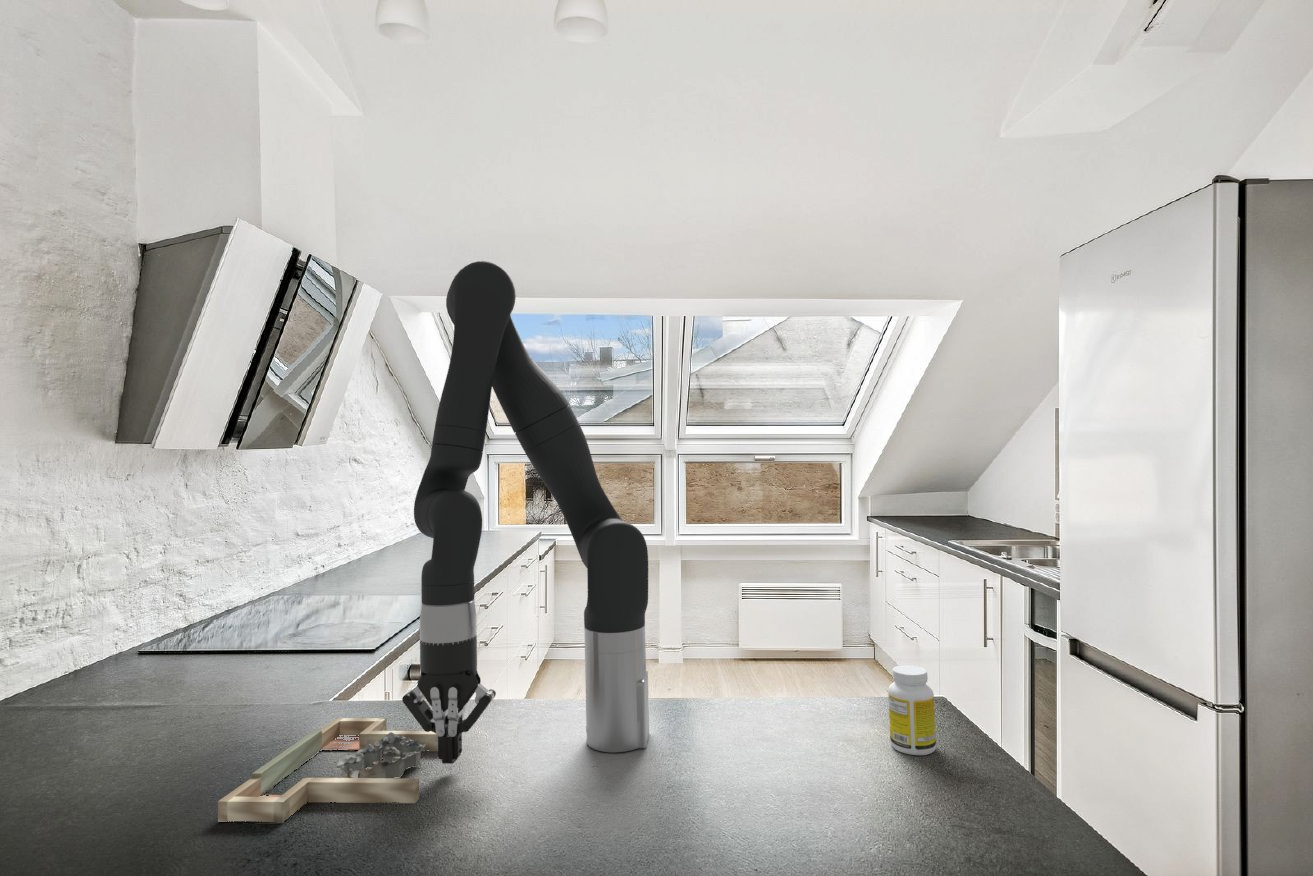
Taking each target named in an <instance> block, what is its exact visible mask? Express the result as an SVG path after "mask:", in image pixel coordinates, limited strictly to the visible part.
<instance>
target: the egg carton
mask: <svg viewBox="0 0 1313 876" xmlns="http://www.w3.org/2000/svg"><path fill="white" fill-rule="evenodd" d="M425 745H426V746H427V744H426V743H423V745H421V744H419V743H418V741H417V740H416V739H415V740H411V739H410V738H406V737H404V736H402V737H398V736H397V735H396V734H394V733H392V732H390V733H389V734H388V735H387V736H385V737H384V738H382V739H381V740H380V741H378V742H375V743H374V744H373V745H370V744H368V745H367V746H366V747H365V748H363V749H361V750H359V751H355V752H354V753H353V754H349V755H348V754H347V755H343V756H342V757H340V758H339V759H338V762H337V764H336V765H335V770H336V771H337V770H340V769H341V778H394V777H400V776H401V775H403V774H405V770H404V769H406V768H408V767H412V766H414V767H415V766H416V767H417V766H418V765H420V766H422V763H421V755H422V752H425V751H424V747H425ZM382 758H383V760H382ZM367 767H371V768H367ZM366 768H367V769H366ZM417 768H418V767H417ZM403 776H404V775H403Z"/></svg>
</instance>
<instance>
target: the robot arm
mask: <svg viewBox="0 0 1313 876" xmlns="http://www.w3.org/2000/svg"><path fill="white" fill-rule="evenodd" d="M448 288H449V289H448V291H447V294H446V298H445V299H446V300H445V306H446V310H447V314H448V317H449V318H450V321H451V322H452V325H453V326H454V327H453V339H452V348H451V355H450V360H449V364H448V369H447V373H446V377H445V381H444V385H443V388H442V392H441V395H440V399H439V400H440V401H439V404H438V408H437V413H436V418H435V425H434V431H433V436H432V443H431V448H430V449H431V450H430V457H429V460H428V462H427V465H426V466H425V469H424V471H423V475H422V477H421V480H420V483H419V486H418V488H417V492H416V495H415V499H414V502H413V503H414V505H413V519H414V522H415V526H416V527H417V529H418V531H419V532H420V533H422V534H423V535H424V536H426V537H428V538H431V539H432V541H433V542H432V550H431V551H432V552H431V558H430V559H429V560H427V561H426V562H425V563H424V564H423V565H422V569H421V581H420V582H421V583H420V584H421V585H420V586H421V609H420V614H419V628H418V633H419V667H420V668H419V669H420V675H419V678H418V679H417V686H415V688H412V689H411V690H409V691H408V692H406V694H404V695H403V696H402V699H401V701H402V703H403V704H404V706H405V707H406V708H407V709H408V711H409V712H410V713H411V714H412V716H413V717H414V719H415V720H416V721H417V723H418V724H419V725H420V727H421V728H422V730H423V731H426V732H430V731H432V732H434V733H436V734H437V736H438V751H437V756H438V759H439V760H441V764H443V765H446V764H448V765H450V764H451V765H452V764H455V762H456V761H457V760H458V759H459V758H460V756H461V755H462V753H463V739H462V738H463V736H462V735H463V733H467V732H469V730H471V728H472V727H473V726H474V725H475V723H477V721H478V720H479V718H480V717H481V716H482V715H483V713H484V712H485V710H486V709H487V708H488V707H489V705H490V704H491V702H492V701H493V700H494V699H495V697H496V695H497V694H496V693H497V692H496V690H494V689H492V688H491V689H487V688H486V687H485V686H484V685H483V684H482V683H481V682H482V681H481V677H480V675H479V673H478V639H477V638H478V635H477V633H478V632H477V631H478V626H477V624H478V622H477V621H478V620H477V619H478V618H477V610H476V604H475V601H476V600H475V571H474V570H475V569H474V568H475V565H476V561H477V557H478V552H479V547H480V542H481V538H482V531H483V514H482V510H481V505H480V503H479V501H478V500H477V498H476V497H475V496H474V495H473V494H472V493H470V492H469V491H467V490H466V488H467V487H466V486H467V484H468V479H469V477H470V476H471V475H472V474H474V473H475V472H477V471H478V470H479V468H480V466H481V463H482V459H483V454H484V449H485V448H484V447H485V441H486V436H487V434H486V433H487V428H488V419H489V411H490V404H491V397H492V390H493V392H494V394H495V396H496V398H497V401H498V402H499V405H500V407H501V408H502V411H503V413H504V414H505V416H506V419H507V420H508V423H509V425H510V427H511V428H512V431H513V433H514V435H515V437H516V438H517V440H518V442H519V444H520V446H521V448H522V449H523V451H524V454H525V455H526V457H527V459H528V460H529V461H530V463H531V464H532V466H533V469H534V471H535V472H536V473H537V475H538V476H539V478H540V479H541V481H542V483H543V484H544V486H545V487H546V488H547V490H548V491H549V493H550V494H551V495H552V497H553V499H554V501H555V502H556V503H557V504H558V505H557V506H558V507H559V509H560V511H561V513H562V515H563V517H564V520H565V522H566V524H567V527H568V528H569V531H570V534H571V536H572V539H573V541H574V544H575V547H576V548H577V551H578V554H579V556H580V560H581V562H582V563H583V565H584V566H585V568H586V569H587V570H586V571H587V573H586V574H587V600H586V601H587V602H586V605H585V608H584V611H583V624H584V625H583V627H584V633H583V634H584V673H585V675H584V678H585V679H584V680H585V719H586V726H585V730H586V743H587V744H586V745H587V746H589V747H590V748H591V749H593V750H595V751H598V752H602V753H603V752H604V753H625V752H629V751H630V752H631V751H633V750H638V749H646V748H647V745H648V739H649V735H650V710H649V709H650V708H649V707H650V705H649V703H650V702H649V672H648V670H647V662H646V661H647V656H646V655H647V653H646V649H647V647H646V646H647V645H646V611H647V610H648V609H647V608H648V603H649V554H648V553H649V552H648V546H647V541H646V539H645V537H644V534H643V533H642V532H641V531H640V530H639V529H638V528H637V526H635V525H633V524H631V523H630V522H627V521H624V520H623V519H622V517H621V516H620V515H619V513H618V512H617V510H616V509H615V507H614V505H613V504H612V503H611V501H610V499H609V498H608V495H606V493H605V491H604V488H603V487H602V485H601V483H600V480H599V478H598V475H597V472H596V468H595V465H594V461H593V457H592V454H591V451H590V447H589V444H588V440H587V437H586V436H585V433H584V431H583V429H582V427H581V425H580V422H579V421H578V418H577V416H576V415H575V413H574V411H573V409H572V407H571V405H570V403H569V402H568V400H567V399H566V397H565V396H564V394H563V392H562V391H561V390H560V389H559V387H558V386H557V385H556V383H555V382H554V381H553V380H552V379H551V378H550V376H549V375H548V374H547V373H546V372H545V371H544V370H543V369H542V368H541V367H540V366H539V365H538V364H537V363H536V361H535V360H534V359H533V357H532V356H531V354H530V353H529V351H528V350H527V349H526V347H525V345H524V343H523V341H522V339H521V337H520V334H519V332H518V331H517V328H516V326H515V323H514V322H513V318H512V316H511V314H512V312H513V310H514V307H515V305H516V304H515V303H516V296H517V295H516V289H515V288H516V287H515V285H514V282H513V279H512V278H511V276H510V274H509V273H508V272H507V271H506V270H505V269H504V268H502V267H501V266H500V265H498V264H496V263H494V262H491V261H485V260H481V261H478V260H477V261H475V262H474V261H473V262H471V263H469V264H467V265H464V267H462V268H461V269H459V271H458V272H457V273H456V274H455V276H454V278H453V279H452V281H451V284H450V286H449V287H448ZM474 695H475V697H474V703H475V704H476V705H475V706H474V708H473V709H472V710H471V712H470V713H469V715H467V717H466V718H465V719H464V717H465V716H464V715H465V711H466V705H467V704H468V703H469V702H470V700H471V698H472V697H473V696H474ZM425 700H426V701H427V702H426V701H425ZM429 705H430V706H431V707H432V708H431V707H430V706H429Z"/></svg>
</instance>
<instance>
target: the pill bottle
mask: <svg viewBox="0 0 1313 876" xmlns="http://www.w3.org/2000/svg"><path fill="white" fill-rule="evenodd" d="M892 679H893V680H894V681H893V682H892V683H891V684H890V685H889V686H888V691H887V692H888V693H887V696H888V714H889V715H888V717H889V738H890V739H889V740H890V745H891V746H892V748H893V749H895V751H898V752H900V753H902V754H906V755H911V756H927V755H929V754H932V753H934V752H935V751H936V749H937V737H936V736H937V735H936V733H937V732H936V716H935V713H936V712H935V697H934V691H933V689H932V687H930V686H929V685H928V684H927V683H928V680H929V679H928V670H926V668H923V667H921V666H916V665H897V666H894V667H893V668H892Z"/></svg>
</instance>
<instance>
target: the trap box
mask: <svg viewBox="0 0 1313 876" xmlns="http://www.w3.org/2000/svg"><path fill="white" fill-rule="evenodd" d="M390 732H392V733H394V734H396V735H397V736H398V737H402V736H404V737H406V738H410V739H411V740H415V739H416V740H417V741H418V743H419V744H421V745H423V743H426V744H427V746H426V745H425V747H424V750H429V751H428V752H438V736H437V734H436V733H434V732H432V731H430V732H426V731H424V730H387V717H385V718H384V717H380V718H379V717H374V718H373V717H368V718H367V717H366V718H365V717H364V718H363V717H362V718H361V717H356V718H355V717H352V718H351V717H348V718H347V717H346V718H345V717H340V718H339V717H336V718H335V719H332V720H331V721H330V722H329V723H327V724H326V725H324V726H323V727H322V728H320V729H318V730H315V729H314V730H312V731H311V732H310V733H308V734H307V735H305V736H304V737H302V738H300V740H298V741H297V742H296V743H294V744H292V745H290V747H288V748H287V749H285V750H283V752H281V753H279V754H278V755H276V756H275V757H274V758H272V759H271V760H269V761H268V762H267V763H265V764H263V765H262V766H260V767H259V768H258V769H256V770H254V771H253V772H252V773H251V777H250V778H249V779H248V780H246V781H244V782H243V783H242V784H241V785H238V787H236V788H235V789H234V790H232V791H231V792H229V793H228V794H227V795H225V796H224V797H222V798H220V799H219V800H218V801H217V823H218V822H227V821H228V822H229V821H230V822H231V821H233V822H234V821H245V822H246V821H257V822H258V821H259V822H261V821H262V822H278V823H277V824H284V823H285V822H284V821H285V820H286V819H288V818H289V817H290V816H291V815H293V814H294V813H295V812H296V811H297V810H298V811H299V810H301V809H302V808H303V807H304V806H305V805H306V804H308V803H330V802H332V804H333V803H334V802H336V804H337V803H338V804H339V803H342V804H343V803H345V804H348V803H349V804H350V803H351V804H353V803H354V804H355V803H356V804H357V803H359V804H393V803H392V802H397V803H396V804H416V803H418V801H419V800H420V778H403V777H401V778H342V777H303V778H302V779H301V780H299V781H298V782H297V783H296V784H294V785H293V786H291V787H290V788H289V789H288V790H286V791H285V792H284V793H283V794H268V795H269V796H266V795H267V794H265V795H263V796H260V795H261V794H262V793H263V792H265V791H266V790H268V789H269V788H270V787H272V786H273V785H274V784H275V783H277V782H278V781H280V780H281V779H282V778H284V777H285V776H287V775H288V774H289V773H291V772H292V771H293V770H294V769H296V768H297V767H299V766H300V765H302V764H303V763H304V762H305V761H306V760H308V759H310V758H311V757H312V756H313V755H315V754H316V753H317V752H318V751H320V750H321V749H337V750H338V749H348V750H361V749H363V748H365V747H366V746H367V745H368V744H370V745H373V744H374V743H375V742H378V741H380V740H381V739H382V738H384V737H385V736H387V735H388V734H389V733H390ZM339 735H343V736H341V737H344V735H356V736H349V737H359V740H358V738H356V739H355V738H354V740H350V741H348V740H347V741H346V740H343V739H344V738H343V739H337V737H340V736H339ZM358 735H359V736H358ZM347 737H348V736H347ZM335 738H336V740H335ZM351 739H352V738H351ZM330 742H331V743H330ZM333 742H337V743H335V744H334V743H333ZM338 742H354V743H352V744H351V743H350V744H348V743H347V744H345V745H344V743H342V744H341V743H340V744H339V743H338ZM355 742H356V743H355ZM358 742H359V743H358ZM326 746H327V747H326ZM331 746H332V747H331ZM333 746H335V747H333ZM336 746H337V747H336ZM339 746H342V747H340V748H339ZM343 746H345V747H343ZM346 746H352V747H350V748H349V747H347V748H346ZM353 746H354V747H353ZM310 760H311V759H310ZM308 801H310V802H308ZM307 802H308V803H307ZM377 802H378V803H377ZM380 802H382V803H380ZM383 802H384V803H383ZM385 802H387V803H385ZM389 802H391V803H389ZM398 802H399V803H398ZM304 804H305V805H304ZM303 805H304V806H303ZM302 806H303V807H302ZM301 807H302V808H301ZM300 808H301V809H300ZM298 811H297V812H298ZM297 812H296V813H297ZM296 813H295V814H296ZM295 814H294V815H295ZM294 815H293V816H294ZM291 817H292V816H291ZM291 817H290V818H291ZM290 818H289V819H290ZM289 819H288V820H289ZM279 822H281V823H279Z"/></svg>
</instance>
